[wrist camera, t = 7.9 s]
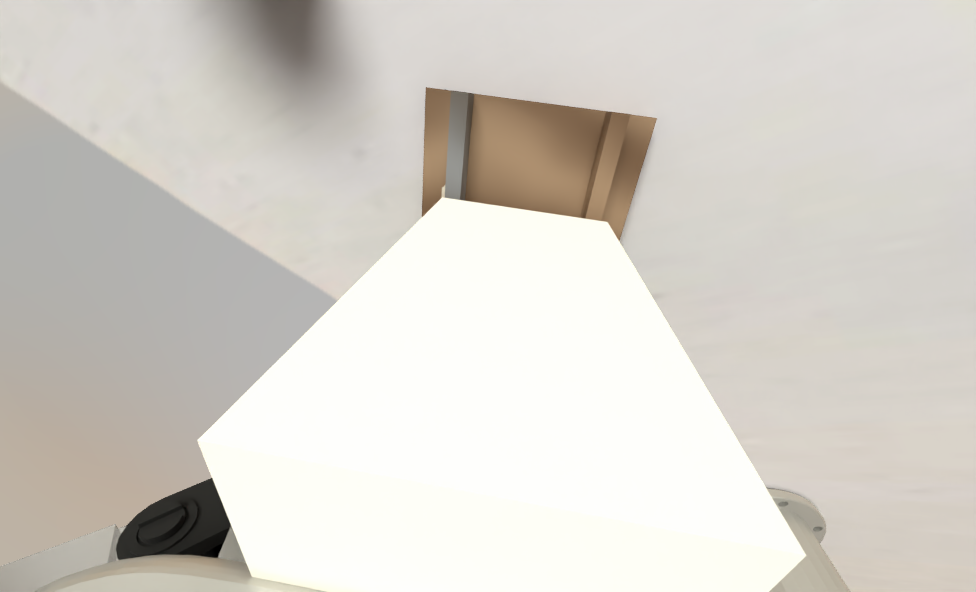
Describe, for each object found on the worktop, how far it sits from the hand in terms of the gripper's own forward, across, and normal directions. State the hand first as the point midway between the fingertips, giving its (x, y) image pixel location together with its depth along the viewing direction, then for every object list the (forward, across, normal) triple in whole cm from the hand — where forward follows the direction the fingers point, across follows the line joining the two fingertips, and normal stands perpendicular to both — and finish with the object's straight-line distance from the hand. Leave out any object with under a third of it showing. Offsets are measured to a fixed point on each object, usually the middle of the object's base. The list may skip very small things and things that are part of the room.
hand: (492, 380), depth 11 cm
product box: (+2, 0, 0) cm, 2 cm away
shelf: (+18, 0, 0) cm, 18 cm away
